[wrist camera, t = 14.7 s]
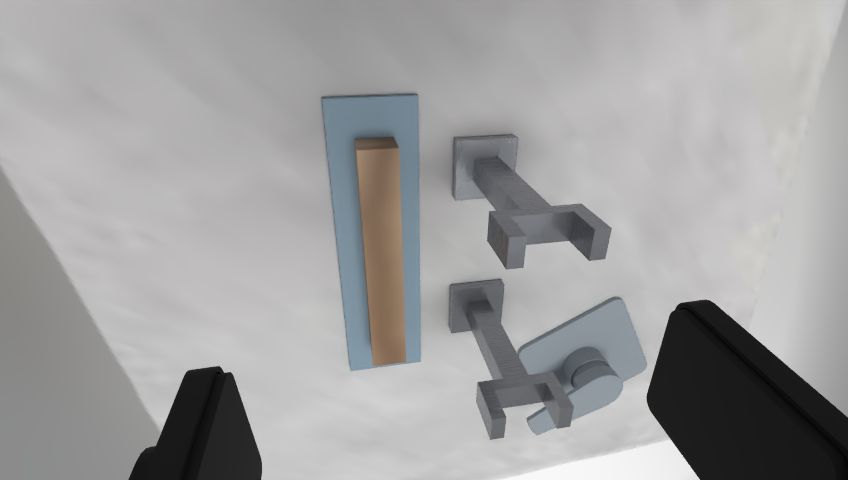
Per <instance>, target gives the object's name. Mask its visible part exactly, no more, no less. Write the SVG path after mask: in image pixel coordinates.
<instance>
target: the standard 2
mask: <svg viewBox="0 0 848 480" xmlns="http://www.w3.org/2000/svg"><path fill="white" fill-rule="evenodd" d="M517 145H518V137H516V136H515V135H498V136H480V137H462V138H454V163H453V197H454V199H455V201H456V200H468V199H481V198H487V200H488V201H489V202H490V203H491V205H492V206H493V207H494V208H495V210H496V211H489V223H488V237H487V241H488V242H489V244H490V245H491V247H492V248H493V250H494V251H495V253H496V255H497V256H498V258H499V259H500V261H501V262H502V264H503V265H504V267H505V268H506V269H515V268H523V266H524V257H525V248H526V245H530V244H540V243H551V242H561V241H570V242H571V243H572V244H573V245H574V246H575V247H576V248H577V249H578V250H579V251H580V252H581V253H582V254H583V255H584V256H585V257H586V258H587V259H588V260H589V261H591V260H601V259H605V257H606V252H607V248H608V243H609V238H610V233H611V229H612V228H611V227H610V226H608V225H607V224H606V223H605V222H603V221H602V220H601V219H600V218H598V217H597V216H596V215H595V214H594V213H592V212H591V211H590V210H589V209H587V208H586V207H585V206H584V205H582V204H572V205H559V206H551V205H550V204H549V203H547V202H546V201H545V200H544V199H543V198H542V197H541V196H540V195H539V194H538V193H537V192H536V191H535V190H533V189H532V188H531V187H530V186H529V185H528V184H527V183H526V182H525V181H524V180H523V179H522V178H521V177H519V176H518V175H517V174H516V173H515V166H516V155H517Z"/></svg>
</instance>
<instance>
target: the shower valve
mask: <svg viewBox="0 0 848 480" xmlns="http://www.w3.org/2000/svg"><path fill="white" fill-rule="evenodd" d="M518 357H519V358H520V360H521V362H522V364H523V365H524V367H525V369H526V370H527V372H528V374H529V375H531V374H538V373H545V372H552V371H553V373H554V374H555V376H556V378H557V379H558V381H559V382H560V384H561V386H562V387H563V389H564V391H565V392H566V394H567V396H568V397H569V399H570V401H571V402H572V404H573V406H574V410H573V415H572V419H571V421H572V420H574V419H577V418H579V417H581V416H584V415H586V414H588V413H591V412H593V411H596V410H598V409H600V408H603V407H605V406H607V405H609V404H610V403H612V402H613V401H614V400H616V399H617V398H618V396H619V395H620V394H621V392H622V389H623V382H624V381H626V380H628V379H630V378H632V377H634V376H636V375H638V374H639V373H641V372H643V371H644V370H645V369H646V367H647V362H646V359H645V356H644V354H643V351H642V348H641V346H640V343H639V340H638V338H637V335H636V332H635V330H634V327H633V324H632V322H631V319H630V316H629V314H628V311H627V308H626V305H625V303H624V302H623V300H622V299H621V298H619V297H613V298H610V299H608V300H606V301H604V302H603V303H601V304H599V305H597V306H595V307H593V308H591V309H590V310H588V311H586V312H584V313H582V314H580V315H578V316H577V317H575V318H573V319H571V320H569V321H567V322H565V323H563V324H562V325H560V326H558V327H556V328H554V329H552V330H550V331H549V332H547V333H545V334H543V335H541V336H539V337H537V338H536V339H534V340H532V341H530V342H528V343H526V344H524V345H523V346H522V347H520V348H519V350H518ZM527 423H528V425H529V427H530V429H531V430H532V432H533V433H535V434H536V435H540V434H542V433H544V432H547V431H549V430H551V429H553V428H556V426H555V424H554V422H553V420H552V418H551V416H550V414H549V413H548V411H547V409H546V407H544V408H542V409H541V410H539V411H537V412H536V413H534V414H532V415H531V416H529V417H528V418H527Z"/></svg>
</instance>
